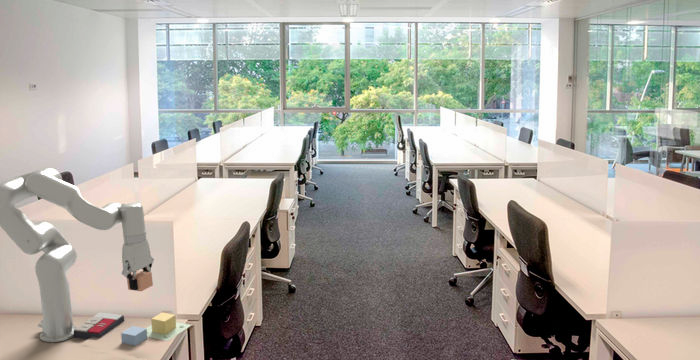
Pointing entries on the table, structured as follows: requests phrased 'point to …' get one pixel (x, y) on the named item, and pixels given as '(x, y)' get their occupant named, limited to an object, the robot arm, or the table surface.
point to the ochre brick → (163, 323)
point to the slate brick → (134, 335)
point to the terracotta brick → (142, 280)
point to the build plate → (169, 335)
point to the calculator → (98, 325)
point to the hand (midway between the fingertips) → (140, 285)
